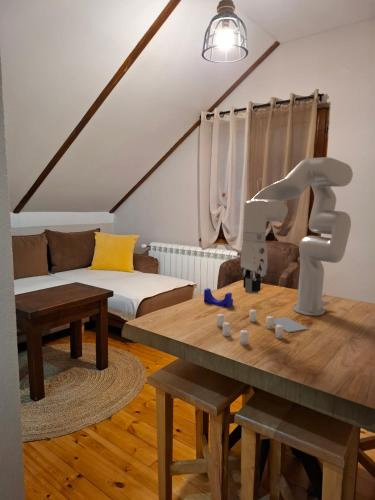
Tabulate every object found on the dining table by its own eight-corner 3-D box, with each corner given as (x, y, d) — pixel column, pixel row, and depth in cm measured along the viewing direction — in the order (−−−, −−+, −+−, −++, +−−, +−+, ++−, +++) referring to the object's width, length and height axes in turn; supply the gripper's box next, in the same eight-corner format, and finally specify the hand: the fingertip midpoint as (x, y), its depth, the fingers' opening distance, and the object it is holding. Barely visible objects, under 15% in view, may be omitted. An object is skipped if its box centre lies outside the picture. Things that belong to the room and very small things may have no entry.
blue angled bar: (232, 305, 150) (233, 292, 149) (227, 308, 147) (228, 294, 146) (208, 300, 157) (209, 287, 156) (203, 302, 153) (204, 289, 152)
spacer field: (257, 318, 135) (258, 308, 134) (289, 337, 118) (290, 326, 117) (210, 325, 127) (211, 314, 126) (237, 346, 110) (237, 334, 109)
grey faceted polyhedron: (254, 289, 123) (254, 275, 122) (261, 292, 119) (262, 278, 118) (241, 290, 121) (242, 276, 120) (248, 294, 117) (249, 279, 116)
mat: (286, 318, 136) (286, 317, 136) (308, 329, 125) (308, 328, 125) (267, 320, 132) (267, 319, 132) (288, 332, 122) (288, 331, 121)
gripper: (278, 240, 110) (275, 295, 114) (249, 233, 126) (247, 282, 129) (259, 241, 108) (256, 297, 111) (231, 234, 123) (230, 284, 126)
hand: (251, 288), depth 120 cm, fingers closed on grey faceted polyhedron, 4 cm apart
